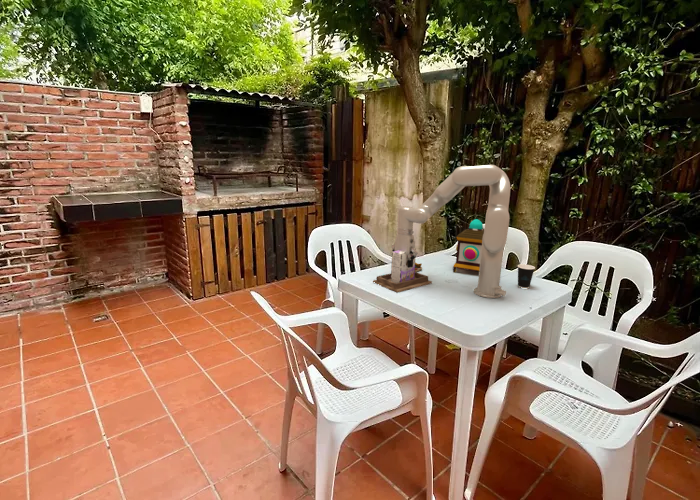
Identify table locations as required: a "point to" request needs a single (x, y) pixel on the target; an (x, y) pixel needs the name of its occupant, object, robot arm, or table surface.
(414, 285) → the tray
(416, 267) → the toy sandwich meal
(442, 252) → the table surface
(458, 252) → the decorative lantern
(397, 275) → the candy box
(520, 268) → the dixie cup
